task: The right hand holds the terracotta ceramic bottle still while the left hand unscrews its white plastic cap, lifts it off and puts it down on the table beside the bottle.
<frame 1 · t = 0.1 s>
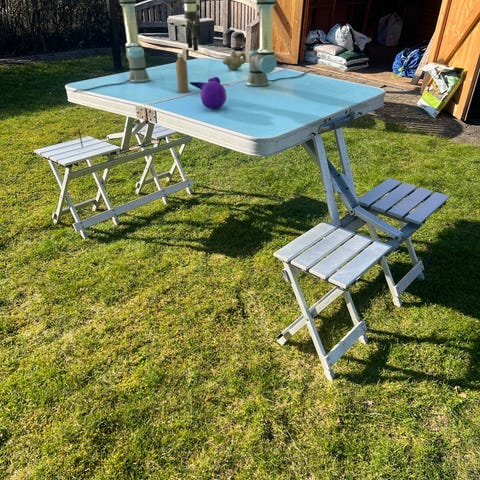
left hand: (196, 35, 349), 28 cm above the table, tool pointing down, fingers open, 13 cm apart
right hand: (193, 49, 282), 28 cm above the table, tool pointing down, fingers open, 13 cm apart
toy: (210, 107, 267), on the table
cap: (180, 54, 293), point 24 cm above the table, screwed on, not yet turned
beige rounded piece: (234, 70, 372), on the table
bottle: (183, 91, 305), on the table
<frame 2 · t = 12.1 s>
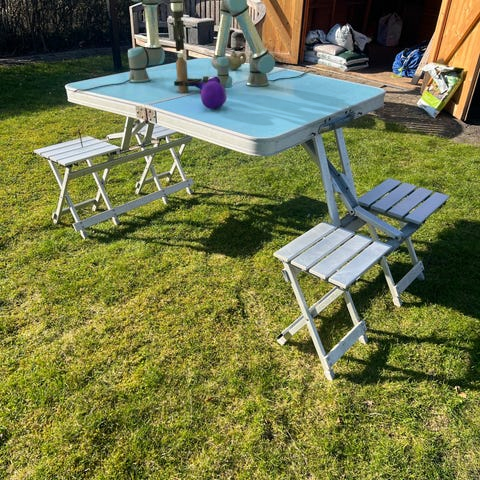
left hand: (180, 50, 292), 26 cm above the table, tool pointing down, fingers open, 6 cm apart
right hand: (175, 82, 303), 6 cm above the table, tool horizontal, fingers closed on bottle, 7 cm apart
bottle: (183, 91, 305), on the table, touching right hand
everything else where it was.
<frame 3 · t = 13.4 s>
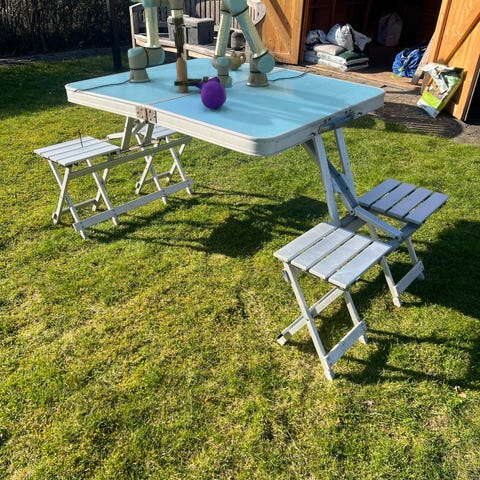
left hand: (180, 57, 294), 22 cm above the table, tool pointing down, fingers closed on cap, 4 cm apart
right hand: (175, 82, 303), 6 cm above the table, tool horizontal, fingers closed on bottle, 7 cm apart
cap: (180, 54, 293), point 24 cm above the table, screwed on, not yet turned, touching left hand
bottle: (183, 91, 305), on the table, touching right hand
everything else where it was.
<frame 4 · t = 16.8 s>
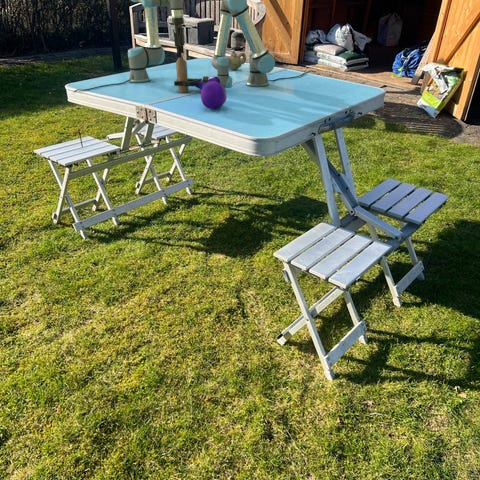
left hand: (180, 56, 294), 22 cm above the table, tool pointing down, fingers closed on cap, 4 cm apart
right hand: (175, 82, 303), 6 cm above the table, tool horizontal, fingers closed on bottle, 7 cm apart
cap: (180, 54, 293), point 24 cm above the table, turned 105° so far, risen 0.1 cm, still on its thread, touching left hand
bottle: (183, 91, 305), on the table, touching right hand
everything else where it was.
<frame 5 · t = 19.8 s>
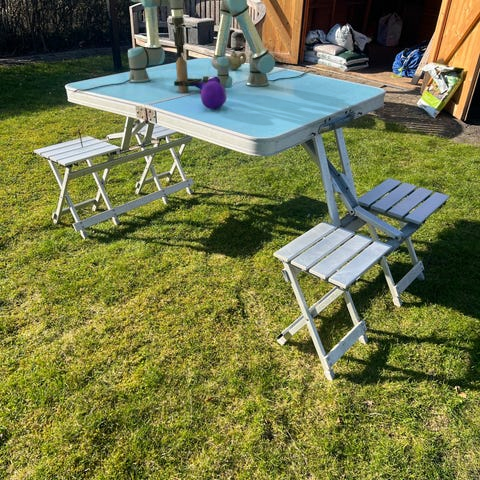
left hand: (180, 56, 294), 22 cm above the table, tool pointing down, fingers closed on cap, 4 cm apart
right hand: (175, 82, 303), 6 cm above the table, tool horizontal, fingers closed on bottle, 7 cm apart
cap: (180, 53, 293), point 24 cm above the table, turned 211° so far, risen 0.2 cm, still on its thread, touching left hand
bottle: (183, 91, 305), on the table, touching right hand
everything else where it was.
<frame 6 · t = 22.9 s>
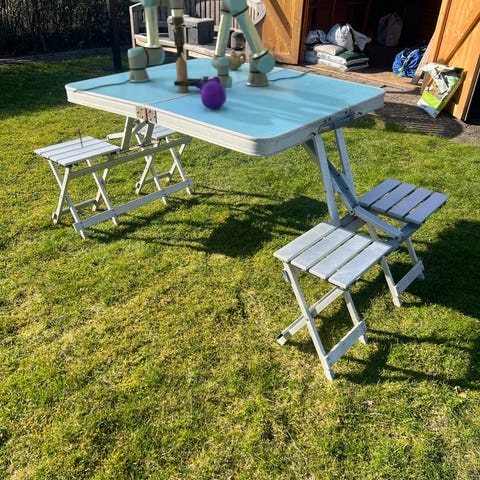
left hand: (180, 56, 294), 22 cm above the table, tool pointing down, fingers closed on cap, 4 cm apart
right hand: (175, 82, 303), 6 cm above the table, tool horizontal, fingers closed on bottle, 7 cm apart
cap: (180, 53, 293), point 24 cm above the table, turned 316° so far, risen 0.4 cm, still on its thread, touching left hand
bottle: (183, 91, 305), on the table, touching right hand
everything else where it was.
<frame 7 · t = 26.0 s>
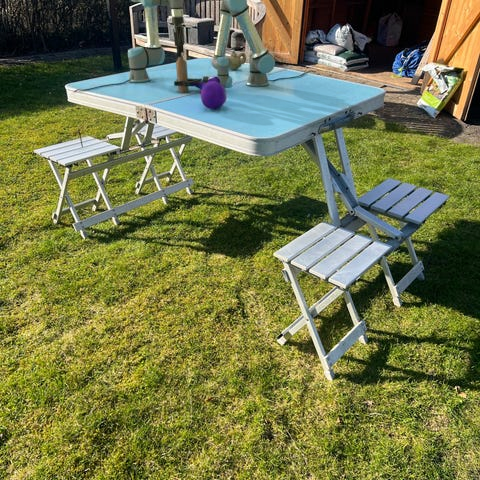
left hand: (180, 56, 294), 23 cm above the table, tool pointing down, fingers closed on cap, 4 cm apart
right hand: (175, 82, 303), 6 cm above the table, tool horizontal, fingers closed on bottle, 7 cm apart
cap: (180, 53, 293), point 24 cm above the table, turned 421° so far, risen 0.5 cm, still on its thread, touching left hand
bottle: (183, 91, 305), on the table, touching right hand
everything else where it was.
when the left hand's fingers open (2 cm above the table, at t = 32.7 s): cap drops 2 cm, point 2 cm above the table.
when the right hand's fingers open (6 cm above the table, at t = 33.9 s): bottle stays where it is, on the table.
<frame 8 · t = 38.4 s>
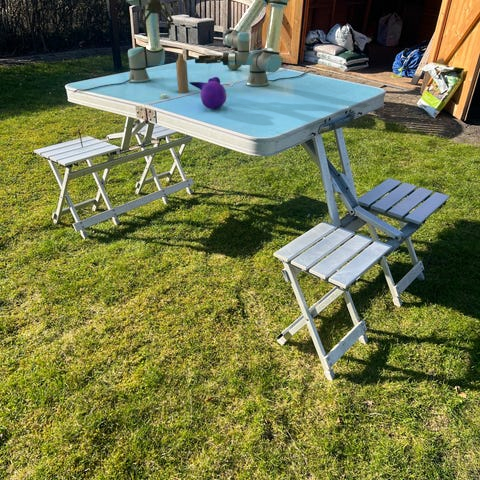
left hand: (157, 35, 272), 37 cm above the table, tool pointing down, fingers open, 13 cm apart
right hand: (196, 59, 294), 21 cm above the table, tool horizontal, fingers open, 13 cm apart
cap: (163, 95, 290), point 2 cm above the table, off its thread
bottle: (183, 91, 305), on the table
everything else where it was.
at the end: cap came off its thread; cap point 1.6 cm above the table; the left hand is holding nothing; the right hand is holding nothing; bottle tilted 0°; bottle moved 0.0 cm from its start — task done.
